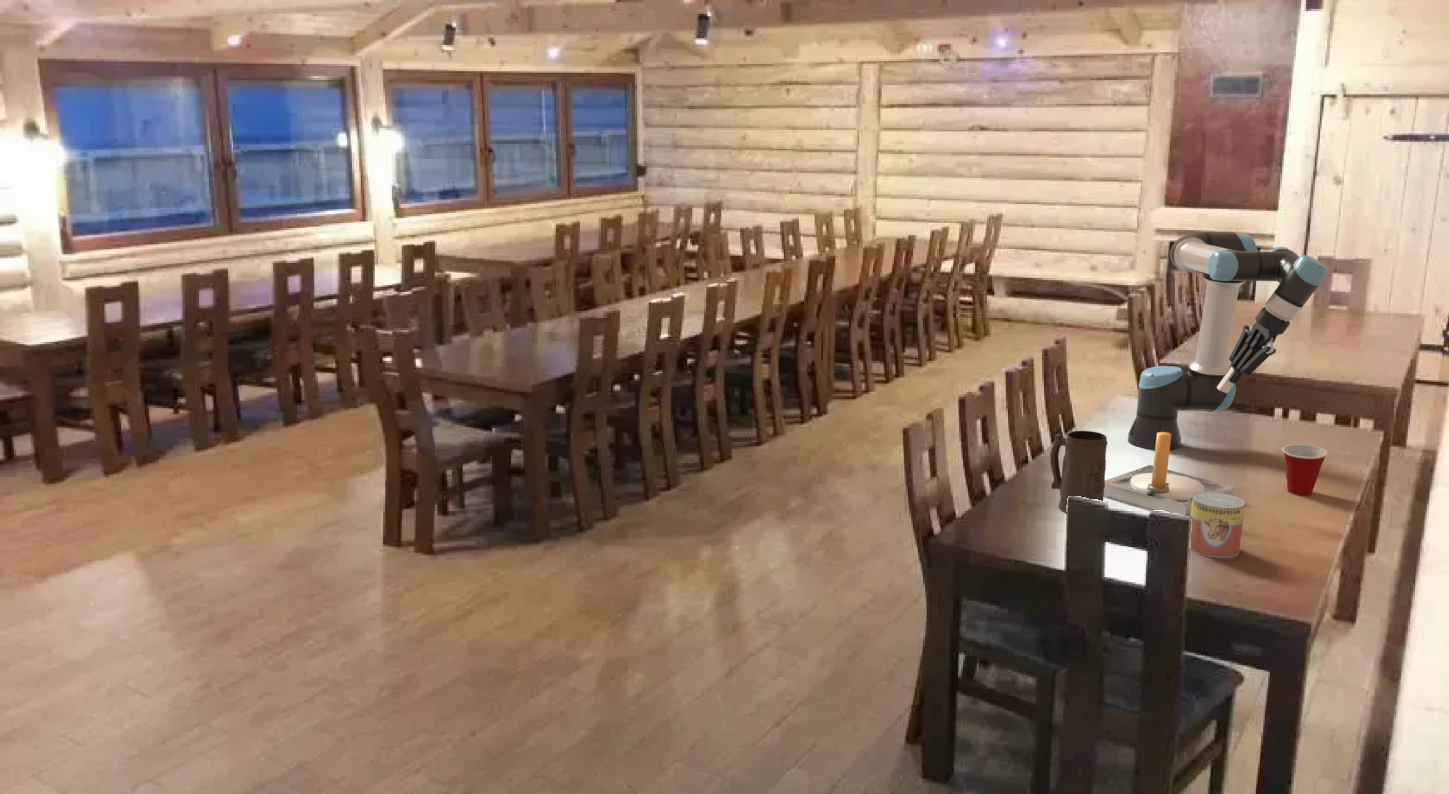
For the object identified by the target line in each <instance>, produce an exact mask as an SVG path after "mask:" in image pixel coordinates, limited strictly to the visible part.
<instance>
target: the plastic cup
mask: <svg viewBox="0 0 1449 794" xmlns="http://www.w3.org/2000/svg"><path fill="white" fill-rule="evenodd" d="M1281 451H1282V452H1283V456H1284V461H1285V473H1286V474H1285V475H1286V489H1287V492H1288V493H1291V494H1293V495H1296V494H1297V496H1311V495H1312V493H1313V491H1314V488H1315V485H1316V483H1317V480H1318V477H1319V473H1320V471H1321V468H1322V465H1323V463H1324V461H1325V459H1326V457H1327V455H1328V453H1329V452H1328V451H1327V449H1325V448H1323V447H1320V446H1316V445H1312V444H1306V443H1305V444H1304V443H1303V444H1302V443H1300V444H1299V443H1297V444H1296V443H1294V444H1286V445H1285V446H1283V447H1282V448H1281Z"/></svg>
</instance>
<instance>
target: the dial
mask: <svg viewBox="0 0 1449 794" xmlns="http://www.w3.org/2000/svg"><path fill="white" fill-rule="evenodd" d="M1170 441H1171V434H1170V433H1166V432H1158V433H1157V437H1156V447H1155V449H1154V456H1153V457H1154V458H1153V465H1152V466H1153V473H1143V474H1138V475H1135V476H1133V477H1132V478H1131V483H1130V486H1131V488H1133V489H1136V490H1140V491H1144V492H1147V493H1148V492H1150V491H1152V492H1154V495H1158V496H1161V497H1165V498H1168V499H1172V500H1190V499H1191V497H1192V495H1194V494H1195V493H1199V492H1204V486H1203V485H1202V484H1201V483H1200V482H1198V481H1196V480H1193V479H1191V478H1187V477H1184V476H1179V475H1174V474H1167V470H1169V469H1168V468H1169V458H1170V452H1171V451H1170V450H1171V449H1170Z"/></svg>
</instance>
